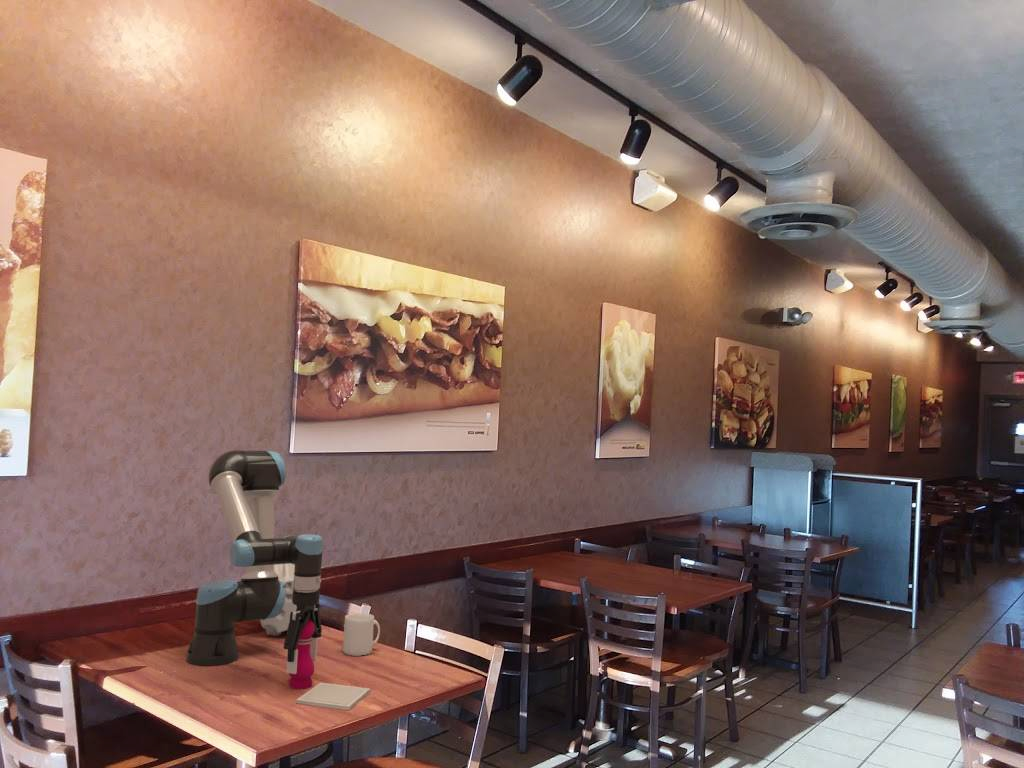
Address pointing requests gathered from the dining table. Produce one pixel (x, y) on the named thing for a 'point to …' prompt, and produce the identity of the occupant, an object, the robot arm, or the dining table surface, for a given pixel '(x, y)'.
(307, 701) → the plate
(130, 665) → the dining table surface
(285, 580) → the white sculpture
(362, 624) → the mug
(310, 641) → the pepper mill
